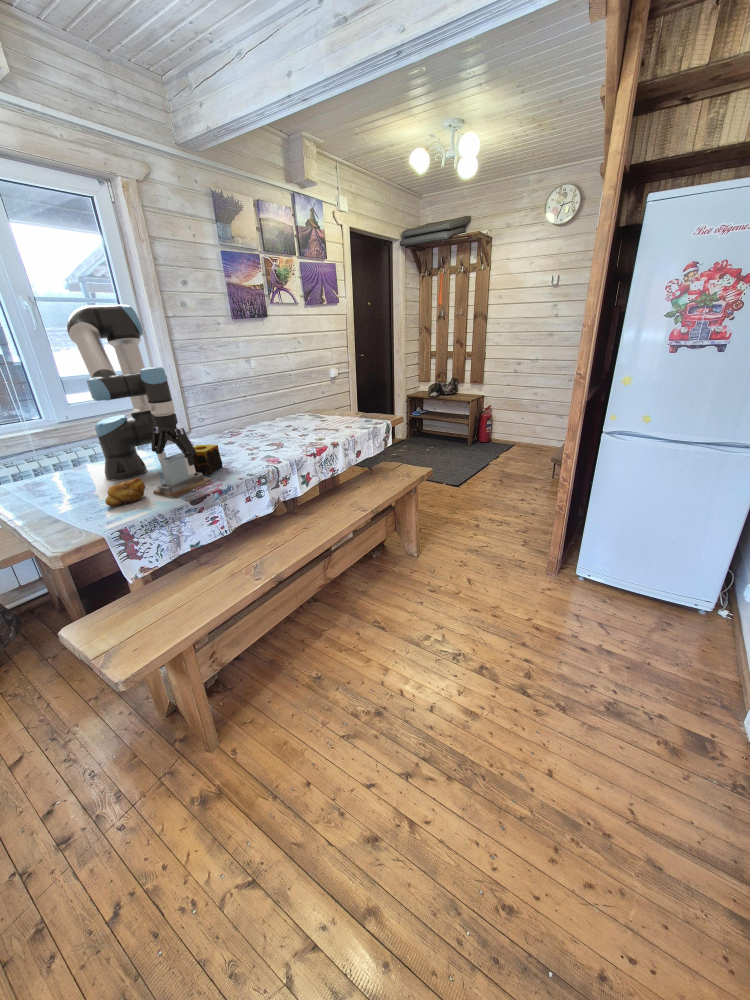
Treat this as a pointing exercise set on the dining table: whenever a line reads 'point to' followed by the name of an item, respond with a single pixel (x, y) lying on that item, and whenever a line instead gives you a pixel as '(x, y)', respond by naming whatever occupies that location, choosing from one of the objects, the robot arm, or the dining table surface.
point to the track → (182, 486)
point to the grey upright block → (175, 469)
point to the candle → (207, 459)
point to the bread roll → (125, 492)
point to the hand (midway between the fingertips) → (178, 471)
